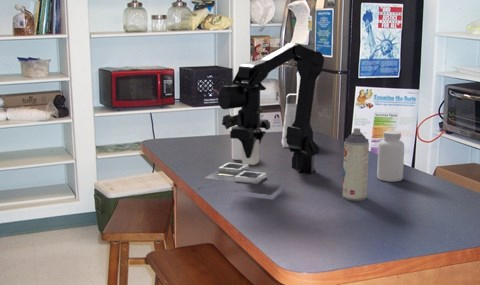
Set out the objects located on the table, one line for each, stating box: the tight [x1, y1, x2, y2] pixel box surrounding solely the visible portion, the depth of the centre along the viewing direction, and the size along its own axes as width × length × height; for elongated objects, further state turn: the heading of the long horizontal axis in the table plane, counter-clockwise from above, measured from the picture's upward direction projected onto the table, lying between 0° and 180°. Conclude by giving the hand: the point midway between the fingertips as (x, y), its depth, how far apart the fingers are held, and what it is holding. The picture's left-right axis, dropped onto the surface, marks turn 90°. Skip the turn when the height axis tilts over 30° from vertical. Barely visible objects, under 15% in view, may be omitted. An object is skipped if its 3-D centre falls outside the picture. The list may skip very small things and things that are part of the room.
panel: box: [204, 162, 277, 185], centre depth 198 cm, size 18×16×3 cm
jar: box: [231, 125, 242, 161], centre depth 220 cm, size 9×8×12 cm
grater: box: [281, 93, 298, 148], centre depth 246 cm, size 10×10×20 cm
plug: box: [241, 139, 260, 166], centre depth 191 cm, size 4×4×8 cm
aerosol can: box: [342, 127, 370, 202], centre depth 176 cm, size 7×7×20 cm
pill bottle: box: [376, 130, 405, 183], centre depth 196 cm, size 8×8×15 cm
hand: (250, 156), depth 191 cm, fingers closed on plug, 4 cm apart
